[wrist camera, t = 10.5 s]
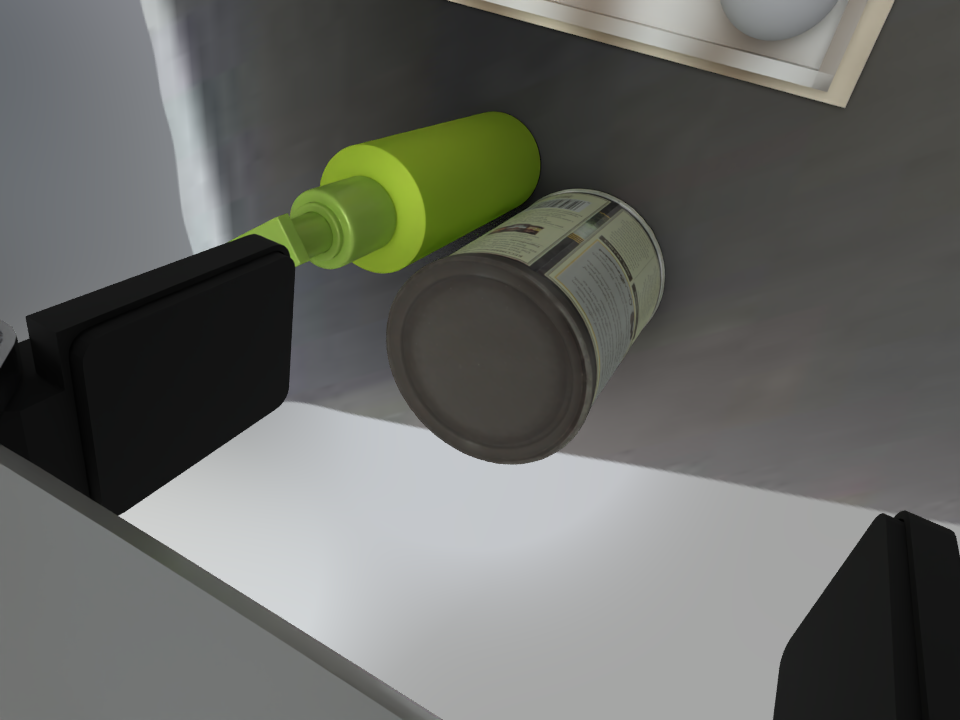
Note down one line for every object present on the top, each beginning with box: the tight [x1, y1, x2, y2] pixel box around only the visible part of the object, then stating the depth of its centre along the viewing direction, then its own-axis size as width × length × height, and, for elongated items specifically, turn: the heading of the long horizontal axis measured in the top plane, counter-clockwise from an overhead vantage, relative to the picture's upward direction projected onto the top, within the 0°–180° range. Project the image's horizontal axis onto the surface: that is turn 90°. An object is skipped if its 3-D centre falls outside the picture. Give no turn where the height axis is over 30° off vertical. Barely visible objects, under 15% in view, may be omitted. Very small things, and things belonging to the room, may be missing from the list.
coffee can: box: [386, 189, 665, 464], centre depth 36 cm, size 10×10×14 cm
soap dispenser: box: [227, 112, 540, 273], centre depth 34 cm, size 6×7×20 cm
